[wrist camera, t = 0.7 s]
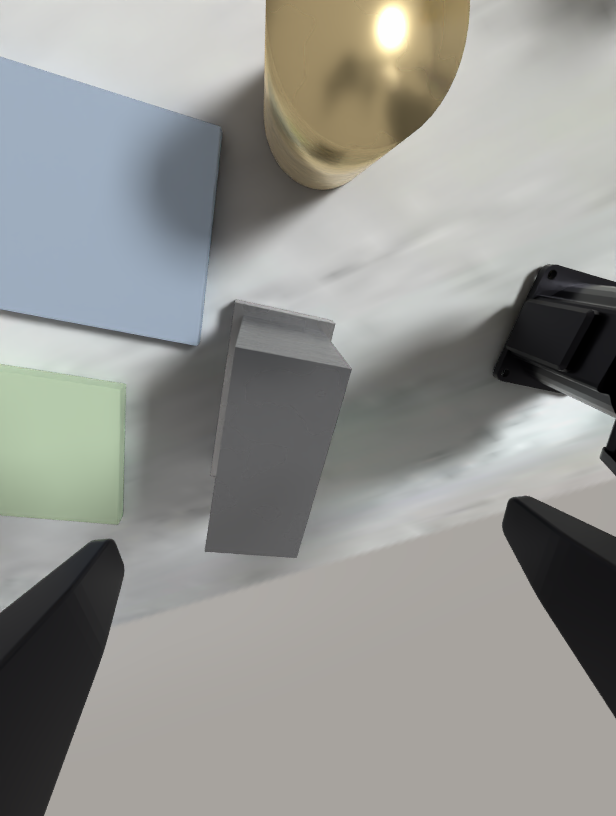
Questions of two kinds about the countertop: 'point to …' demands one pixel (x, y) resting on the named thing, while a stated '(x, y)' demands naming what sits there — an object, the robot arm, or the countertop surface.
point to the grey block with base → (273, 429)
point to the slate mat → (103, 207)
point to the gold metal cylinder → (354, 79)
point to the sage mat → (61, 446)
